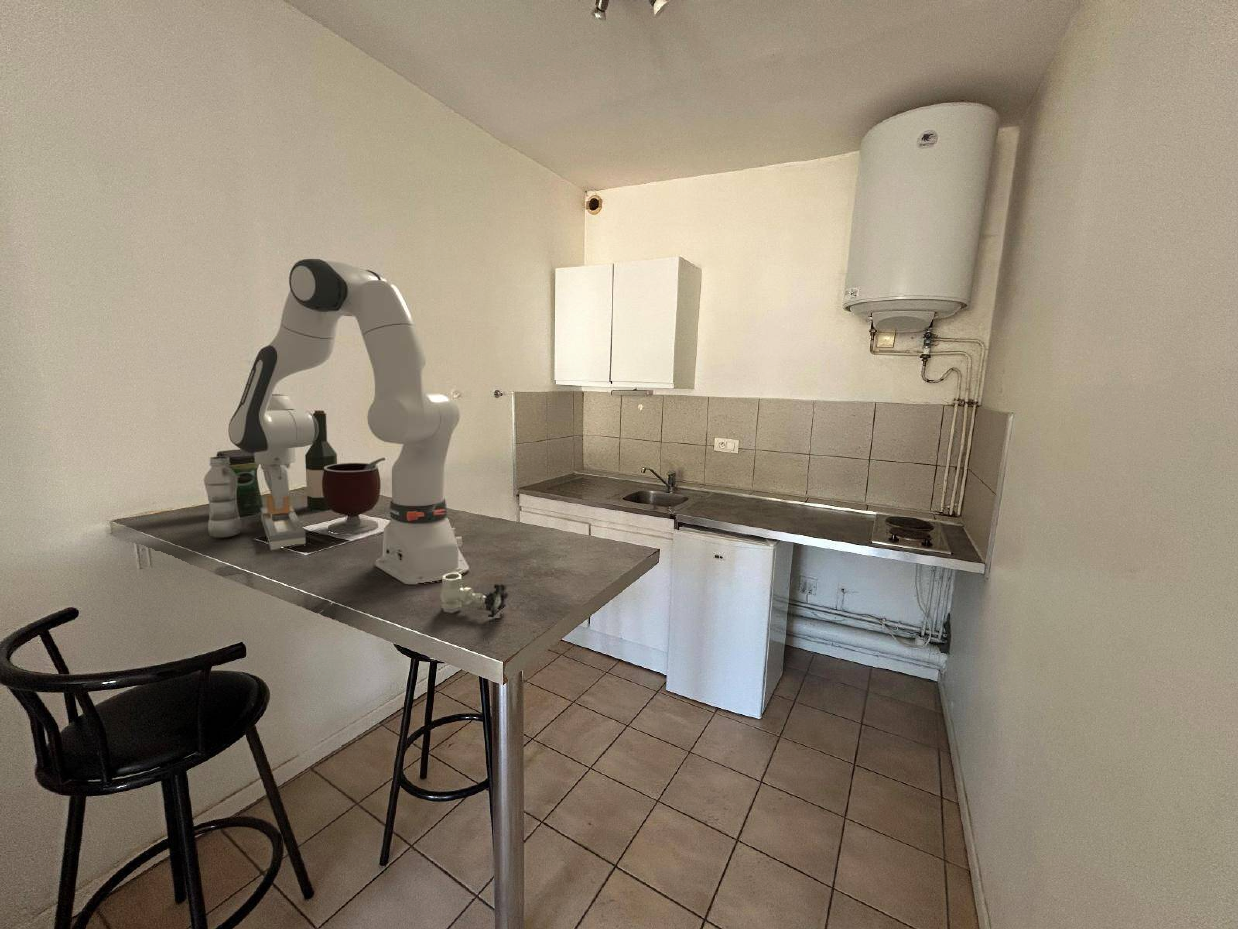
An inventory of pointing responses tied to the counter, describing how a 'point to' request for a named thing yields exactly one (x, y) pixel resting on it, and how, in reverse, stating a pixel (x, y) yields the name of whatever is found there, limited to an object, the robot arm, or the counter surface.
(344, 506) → the mate gourd
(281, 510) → the fader knob
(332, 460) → the wine bottle
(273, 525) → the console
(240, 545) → the counter surface
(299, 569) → the counter surface
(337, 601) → the counter surface
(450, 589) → the valve
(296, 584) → the counter surface
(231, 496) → the silver ridged bottle
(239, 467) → the coffee jar
